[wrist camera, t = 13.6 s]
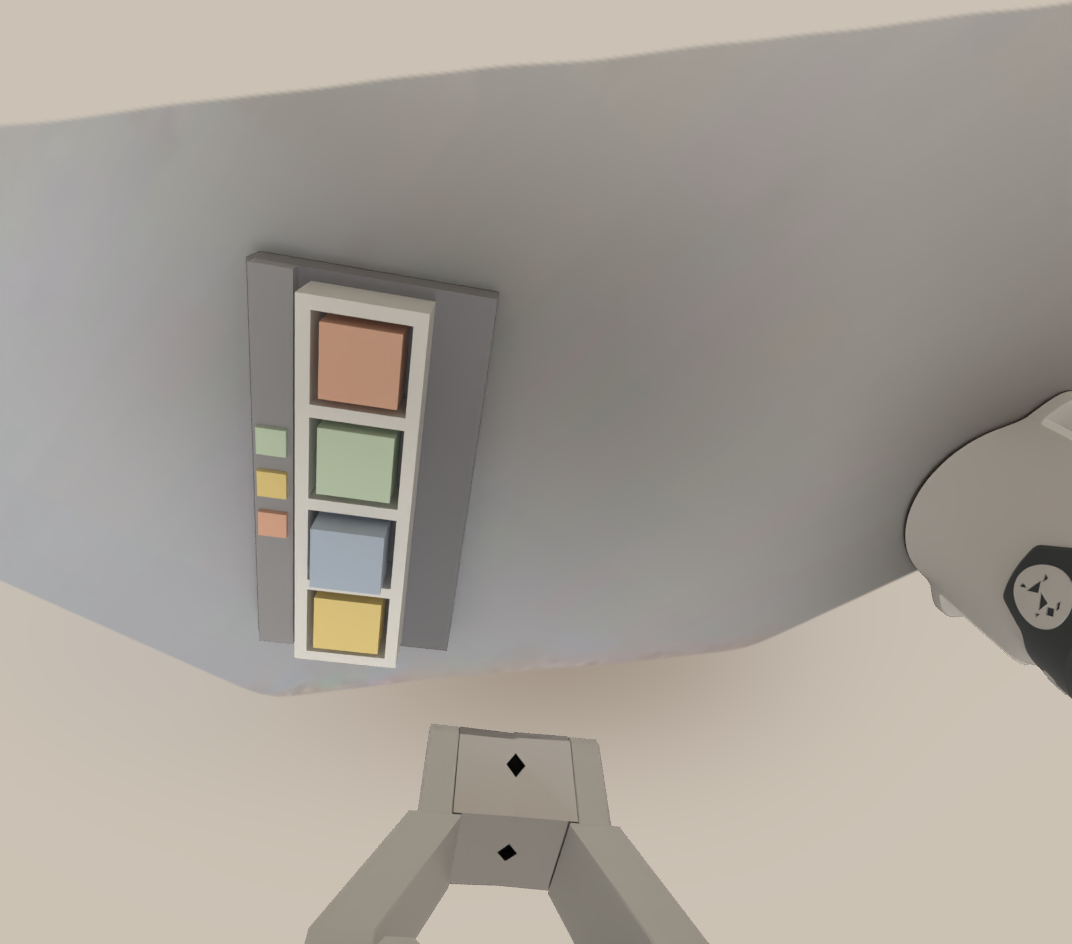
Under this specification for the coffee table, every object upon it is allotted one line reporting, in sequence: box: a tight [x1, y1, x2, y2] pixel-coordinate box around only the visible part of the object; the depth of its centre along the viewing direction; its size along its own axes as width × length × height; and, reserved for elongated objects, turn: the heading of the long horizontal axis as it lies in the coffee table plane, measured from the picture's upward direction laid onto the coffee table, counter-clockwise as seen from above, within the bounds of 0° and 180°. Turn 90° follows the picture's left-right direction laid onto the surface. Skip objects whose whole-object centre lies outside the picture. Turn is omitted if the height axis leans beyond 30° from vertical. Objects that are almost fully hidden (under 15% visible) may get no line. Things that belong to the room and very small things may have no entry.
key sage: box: [316, 420, 401, 503], centre depth 39 cm, size 4×4×2 cm
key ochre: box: [313, 591, 386, 654], centre depth 44 cm, size 4×4×2 cm
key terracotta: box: [318, 313, 409, 410], centre depth 36 cm, size 4×4×2 cm
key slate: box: [309, 511, 391, 595], centre depth 40 cm, size 4×4×2 cm
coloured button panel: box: [246, 251, 499, 668], centre depth 41 cm, size 14×27×5 cm, turn 170°
